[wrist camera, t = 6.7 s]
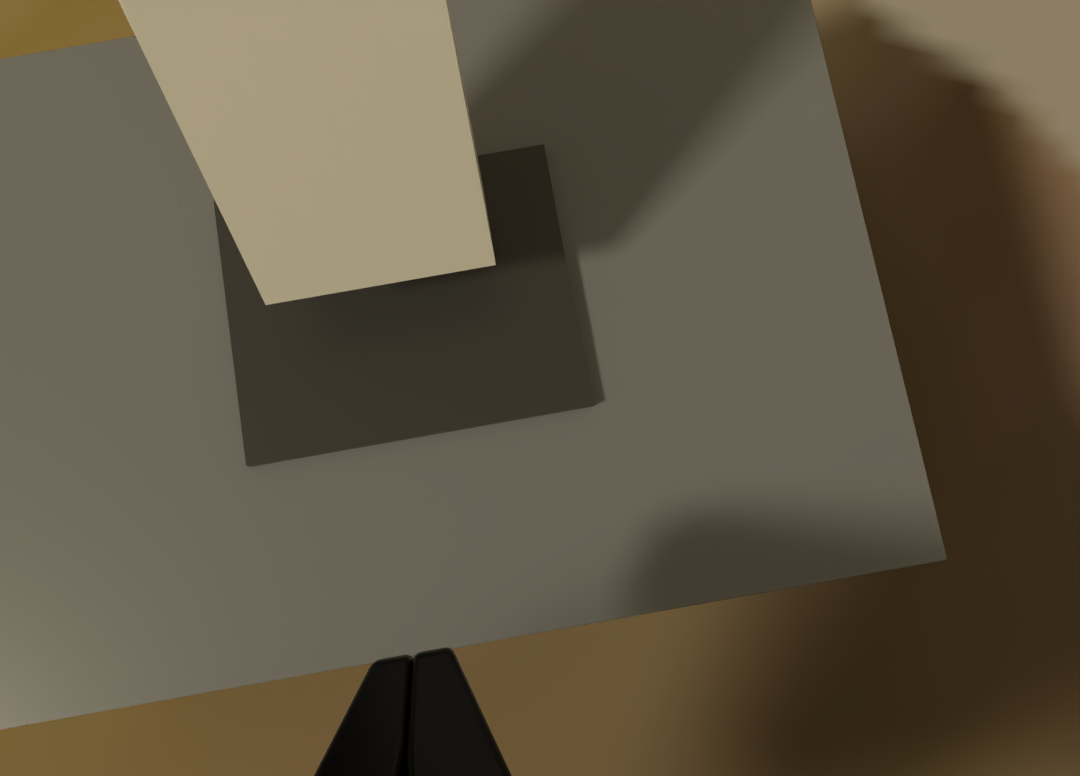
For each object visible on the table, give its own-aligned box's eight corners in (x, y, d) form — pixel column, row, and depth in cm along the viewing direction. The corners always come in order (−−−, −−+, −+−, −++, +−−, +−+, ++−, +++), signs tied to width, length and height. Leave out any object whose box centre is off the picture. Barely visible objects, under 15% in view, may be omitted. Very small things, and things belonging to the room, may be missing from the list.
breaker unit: (823, 552, 19) (953, 559, 13) (146, 674, 19) (-55, 740, 12) (721, 96, 20) (792, -93, 14) (97, 203, 20) (-100, 59, 14)
